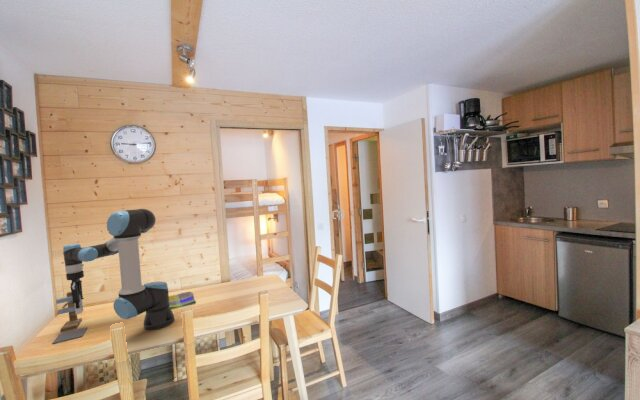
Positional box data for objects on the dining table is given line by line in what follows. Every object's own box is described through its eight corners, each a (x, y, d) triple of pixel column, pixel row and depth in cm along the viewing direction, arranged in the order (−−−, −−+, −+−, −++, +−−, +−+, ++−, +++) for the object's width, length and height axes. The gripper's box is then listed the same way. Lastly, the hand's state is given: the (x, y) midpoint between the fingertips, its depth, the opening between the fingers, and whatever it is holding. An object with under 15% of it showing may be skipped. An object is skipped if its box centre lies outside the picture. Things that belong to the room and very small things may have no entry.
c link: (82, 308, 168) (80, 294, 168) (81, 309, 166) (79, 295, 166) (59, 313, 163) (57, 299, 163) (57, 314, 161) (56, 300, 161)
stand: (74, 331, 163) (70, 298, 162) (58, 335, 160) (54, 301, 159) (81, 320, 178) (78, 290, 178) (67, 323, 175) (63, 293, 174)
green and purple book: (165, 311, 183) (165, 307, 183) (165, 300, 204) (165, 296, 204) (196, 304, 191) (195, 300, 191) (192, 294, 212) (192, 290, 212)
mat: (82, 337, 155) (81, 335, 155) (52, 344, 150) (52, 343, 150) (87, 328, 166) (87, 327, 166) (59, 334, 160) (59, 333, 160)
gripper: (79, 273, 161) (84, 315, 162) (86, 267, 174) (90, 306, 175) (62, 276, 157) (67, 319, 158) (69, 270, 171) (74, 310, 172)
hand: (79, 312), depth 167 cm, fingers closed on c link, 2 cm apart
